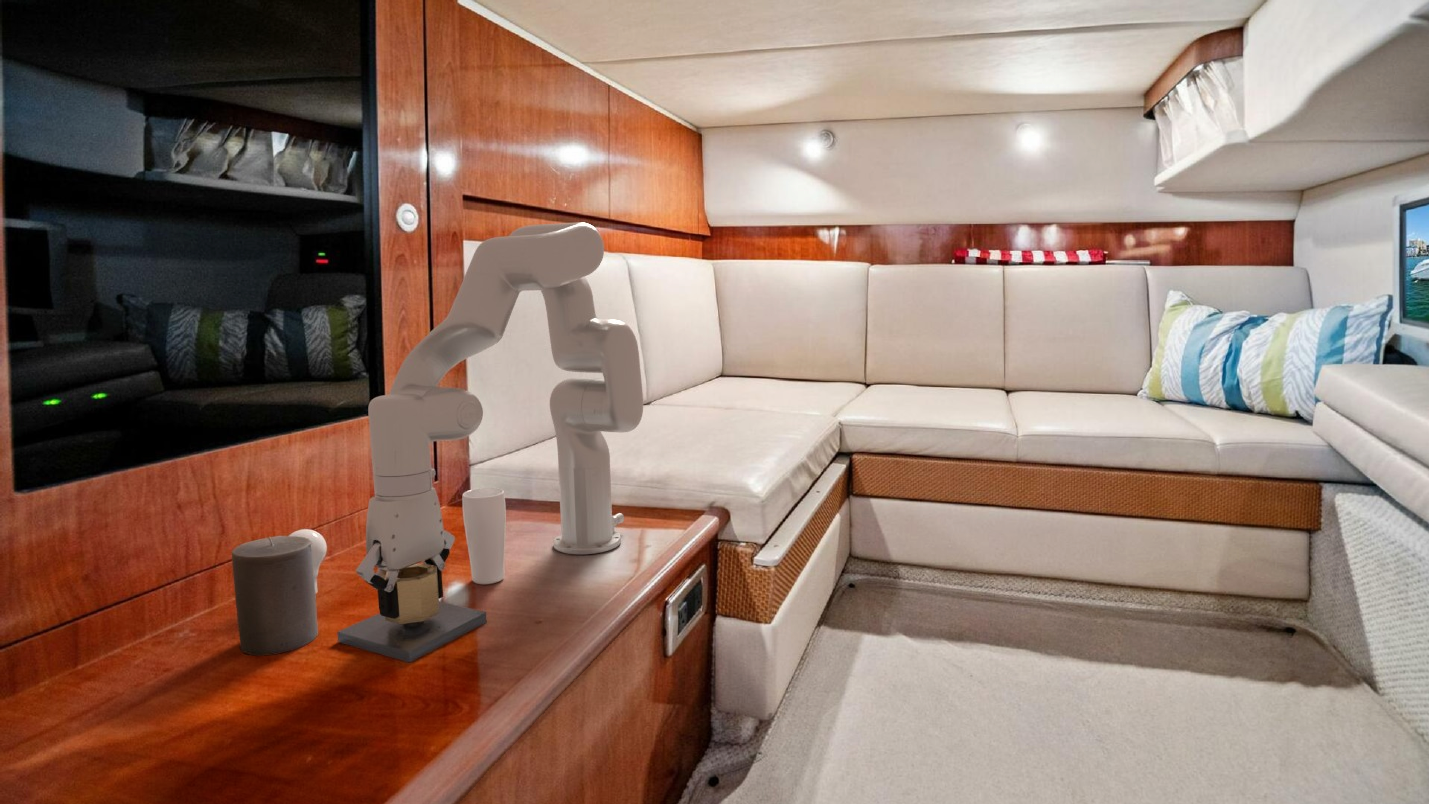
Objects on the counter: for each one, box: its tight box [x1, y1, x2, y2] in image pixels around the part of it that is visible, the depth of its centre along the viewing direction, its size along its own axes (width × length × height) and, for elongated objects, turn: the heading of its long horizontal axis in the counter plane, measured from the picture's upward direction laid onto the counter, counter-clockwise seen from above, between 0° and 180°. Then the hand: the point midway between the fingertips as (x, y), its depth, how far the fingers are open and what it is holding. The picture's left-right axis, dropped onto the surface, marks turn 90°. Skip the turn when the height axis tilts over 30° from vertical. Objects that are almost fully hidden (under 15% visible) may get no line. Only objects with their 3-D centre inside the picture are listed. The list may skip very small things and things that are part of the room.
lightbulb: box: [288, 528, 328, 595], centre depth 125 cm, size 6×6×11 cm
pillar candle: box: [231, 535, 319, 656], centre depth 109 cm, size 10×10×15 cm
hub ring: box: [385, 562, 440, 624], centre depth 111 cm, size 7×7×6 cm
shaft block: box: [337, 600, 488, 663], centre depth 112 cm, size 14×14×6 cm
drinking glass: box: [461, 487, 507, 585], centre depth 131 cm, size 7×7×15 cm
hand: (412, 605), depth 111 cm, fingers closed on hub ring, 7 cm apart
